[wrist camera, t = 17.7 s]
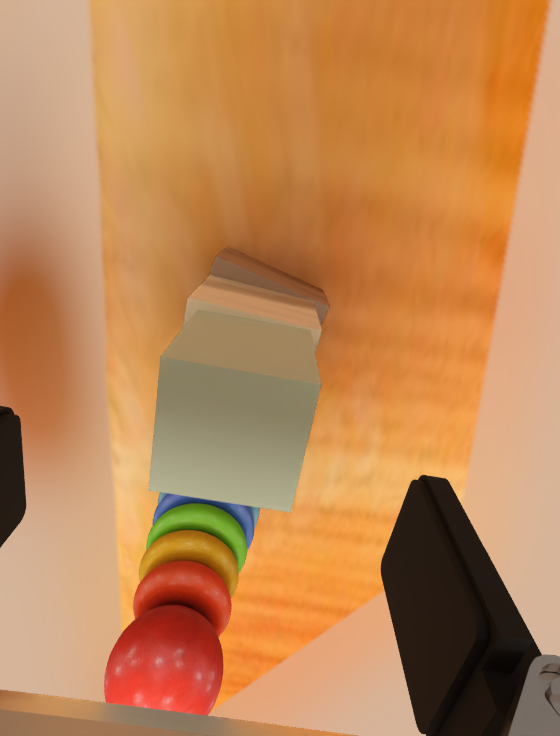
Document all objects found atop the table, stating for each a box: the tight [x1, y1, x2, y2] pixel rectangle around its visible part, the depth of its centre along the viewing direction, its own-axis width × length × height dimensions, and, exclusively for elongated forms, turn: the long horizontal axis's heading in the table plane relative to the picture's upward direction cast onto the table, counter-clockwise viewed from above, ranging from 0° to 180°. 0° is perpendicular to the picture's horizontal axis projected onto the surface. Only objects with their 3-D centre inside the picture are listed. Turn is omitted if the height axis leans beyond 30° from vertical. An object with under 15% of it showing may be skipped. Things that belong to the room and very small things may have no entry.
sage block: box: [149, 310, 321, 512], centre depth 17 cm, size 5×5×6 cm
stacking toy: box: [104, 492, 259, 716], centre depth 26 cm, size 8×8×19 cm
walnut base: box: [209, 247, 330, 326], centre depth 28 cm, size 7×7×5 cm
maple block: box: [182, 275, 322, 353], centre depth 23 cm, size 6×6×6 cm
